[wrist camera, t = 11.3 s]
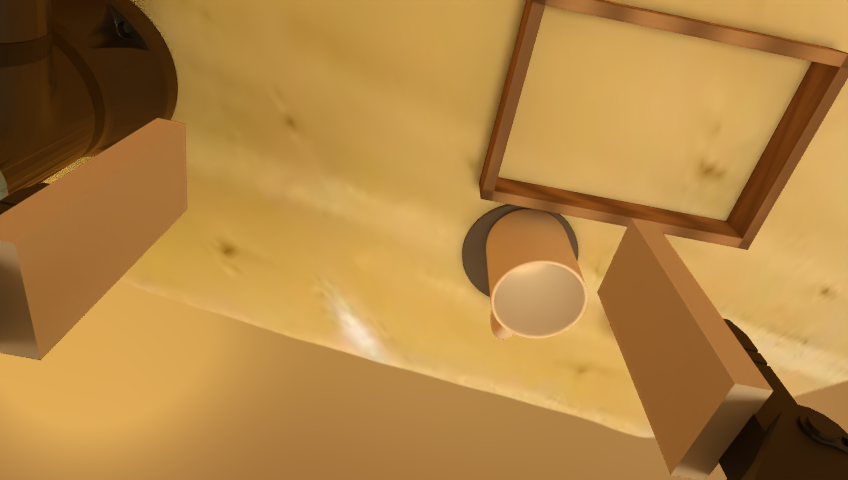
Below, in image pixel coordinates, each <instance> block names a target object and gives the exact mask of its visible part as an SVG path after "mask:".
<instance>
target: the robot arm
mask: <svg viewBox="0 0 848 480" xmlns="http://www.w3.org/2000/svg"><path fill="white" fill-rule="evenodd" d="M176 100H177V78H176V72H175V68H174V64H173V61H172V58H171V55H170V53H169V50H168V48H167V46H166V44H165V42H164V40H163V39H162V37H161V35H160V34H159V32H158V31H157V29H156V28H155V26H154V25H153V24H152V23H151V21H150V20H149V19H148V18H147V17H146V16H145V14H144V13H143V12H142V11H141V10H140V9H138V8H137V7H136V6H135V5H134V4H133V3H132V2H130V1H129V0H0V352H1V353H4V354H9V355H15V356H20V357H26V358H31V359H37V360H41V359H42V358H43V357H44V356H45V355H46V354H47V353H48V352H49V351H50V350H51V349H52V348H53V347H54V346H55V345H56V344H57V343H58V342H59V341H60V340H61V339H62V338H63V337H64V336H65V335H66V333H67V332H68V331H69V330H70V329H71V328H72V327H73V326H74V325H75V324H76V323H77V322H78V321H79V320H80V319H81V318H82V317H83V316H84V315H85V314H86V313H87V312H88V311H89V310H90V309H91V308H92V307H93V306H94V304H96V303H97V302H98V300H100V299H101V297H102V296H103V295H104V294H105V293H106V292H107V291H108V290H109V289H110V288H111V287H112V286H113V285H114V284H115V283H116V282H117V281H118V280H119V279H120V278H121V277H122V276H123V275H124V274H125V273H126V272H127V271H128V270H129V269H130V268H131V267H132V266H133V265H134V264H135V262H136V261H137V260H138V259H139V258H140V257H141V256H142V255H143V254H144V253H145V252H146V251H147V250H148V249H149V248H150V247H151V246H152V245H153V244H154V243H155V242H156V241H157V240H158V239H159V238H160V237H161V236H162V235H163V234H164V233H165V232H166V231H167V230H168V229H169V228H170V226H171V225H172V224H173V223H174V222H175V221H176V220H177V219H178V218H179V217H180V216H181V215H182V214H183V213H184V212H185V211H186V210H187V181H186V139H185V124H184V123H180V122H175V121H170V119H171V117H172V114H173V112H174V109H175V105H176ZM89 156H95V157H93V158H92V159H90V160H88V161H87V162H85V163H84V164H82V165H80V166H79V167H77V168H76V169H74V170H72V171H71V172H69V173H67V174H66V175H64V176H63V177H61V178H59V179H58V180H56V181H54V182H53V183H51V184H47V183H41V182H42V181H44V180H46V179H47V178H49V177H50V176H52V175H54V174H55V173H57V172H58V171H60V170H62V169H63V168H65V167H66V166H68V165H70V164H71V163H73V162H75V161H76V160H78V159H79V158H81V157H89ZM39 183H40V184H39ZM597 293H598V295H599V298H600V300H601V303H602V305H603V308H604V310H605V313H606V315H607V318H608V320H609V323H610V325H611V328H612V330H613V333H614V335H615V338H616V340H617V343H618V345H619V348H620V350H621V353H622V355H623V358H624V360H625V363H626V365H627V368H628V370H629V373H630V375H631V378H632V380H633V383H634V385H635V388H636V390H637V393H638V395H639V398H640V400H641V402H642V405H643V407H644V410H645V412H646V415H647V417H648V420H649V422H650V425H651V427H652V430H653V432H654V435H655V437H656V440H657V442H658V445H659V447H660V450H661V452H662V455H663V457H664V460H665V462H666V465H667V467H668V470H669V472H670V475H673V476H679V477H684V478H690V479H695V480H706V479H707V477H708V476H709V475H710V473H711V472H712V471H713V470H714V468H715V467H716V466H717V464H718V463H720V465H721V467H722V469H723V471H724V473H725V475H726V477H727V480H848V434H847V433H846V432H845V431H844V430H843V429H842V428H841V427H840V426H839V425H838V424H836V423H835V422H833V421H832V420H831V419H829V418H828V417H826V416H825V415H823V414H821V413H819V412H817V411H815V410H813V409H811V408H808V407H804V406H800V405H798V404H797V403H796V402H795V400H794V399H793V398H792V396H791V395H790V393H789V392H788V391H787V389H786V388H785V387H784V385H783V384H782V382H781V381H780V380H779V378H778V377H777V376H776V374H775V373H774V372H773V370H772V369H771V367H770V366H767V362H766V361H765V359H764V358H763V357H762V355H761V354H760V353H758V350H757V348H756V347H755V346H754V344H753V343H752V342H751V340H750V339H749V337H748V336H747V335H746V334H745V333H744V332H743V331H741V330H740V329H739V328H738V327H737V326H736V325H734V324H733V323H732V322H731V321H730V320H727V319H723V318H722V317H721V315H720V314H719V313H718V311H717V310H716V308H715V307H714V305H713V304H712V303H711V301H710V300H709V298H708V297H707V295H706V294H705V293H704V291H703V290H702V288H701V287H700V285H699V284H698V283H697V281H696V280H695V278H694V277H693V275H692V274H691V273H690V271H689V270H688V268H687V267H686V265H685V264H684V263H683V261H682V260H681V258H680V257H679V255H678V254H677V253H676V251H675V250H674V248H673V247H672V245H671V244H670V243H669V241H668V240H667V238H666V237H665V235H664V234H663V233H662V231H661V230H660V228H659V227H658V225H657V224H656V223H651V222H646V221H642V220H637V219H632V218H631V221H630V223H629V225H628V227H627V229H626V231H625V234H624V236H623V238H622V240H621V242H620V244H619V247H618V249H617V251H616V253H615V255H614V257H613V259H612V262H611V264H610V266H609V268H608V270H607V272H606V275H605V277H604V279H603V281H602V283H601V285H600V288H599V290H598V292H597Z"/></svg>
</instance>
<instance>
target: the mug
mask: <svg viewBox="0 0 848 480" xmlns="http://www.w3.org/2000/svg"><path fill="white" fill-rule="evenodd" d="M486 257H487V268H488V279H489V290H490V300H491V308H492V310H491V329H492V332H493V334H494V335H495V337H497V338H498V339H503V340H504V339H507V338H510V337H511V336H512V335H513V334H516V335H519V336H522V337H526V338H546V337H551V336H554V335H557V334H560V333H562V332H564V331H566V330H568V329H569V328H571V327H572V326H573V325H574V324H575V323H577V321H578V320H579V319H580V318H581V316H582V315H583V313H584V311H585V309H586V306H587V301H588V292H587V287H586V285H585V282H584V279H583V277H582V274H581V271H580V268H579V266H578V263H577V260H576V258H575V255H574V252H573V249H572V247H571V244H570V241H569V239H568V236H567V233H566V231H565V229H564V228H563V226H562V225H561V223H560V222H559V221H558V220H557V219H556V218H555V217H553V216H552V215H550V214H548V213H547V212H544V211H541V210H536V209H522V210H517V211H514V212H511V213H509V214H507V215H505V216H504V217H502V218H501V219H500V220H498V221H497V222H496V223H495V224H494V226H493V227H492V229H491V230H490V232H489V235H488V238H487V243H486Z"/></svg>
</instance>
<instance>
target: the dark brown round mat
mask: <svg viewBox="0 0 848 480" xmlns="http://www.w3.org/2000/svg"><path fill="white" fill-rule="evenodd" d="M522 209H532V208H527V207H522V206H516V205H511V204H507V205H503V206H500V207H498V208H495V209H493V210H491V211H489V212H488V213H486V214H485V215H483V216H482V217H481V218H480V219H478V220H477V221H476V223H475V224H474V225H473V226H472V227H471V229H470V230H469V232H468V234H467V236H466V238H465V241H464V245H463V266H464V269H465V272H466V274H467V276H468V278H469V279H470V281H471V282H472V284H473V285H474V286H475V287H476V288H477V289H478V290H480V291H481V292H482V293H484V294H485V295H487V296H489V297H490V290H489V279H488V268H487V257H486V243H487V238H488V235H489V232H490V230H491V229H492V227H493V226H494V224H495V223H496V222H497V221H498V220H500V219H501V218H502V217H504V216H505V215H507V214H509V213H511V212H514V211H517V210H522ZM536 210H537V209H536ZM541 211H542V210H541ZM544 212H547V213H548V214H550V215H552V216H553V217H555V218H556V219H557V220H558V221H559V222H560V223H561V225H562V226H563V228H564V229H565V231H566V233H567V236H568V239H569V241H570V244H571V247H572V249H573V252H574V255H575V258H576V260H577V259H578V243H577V239H576V236H575V234H574V232H573V230H572V228H571V226H570V225H569V223H568V222H567V221H566V220H565V219H564V218H563V217H562V216H561V215H560V214H558V213H553V212H548V211H544Z"/></svg>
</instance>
